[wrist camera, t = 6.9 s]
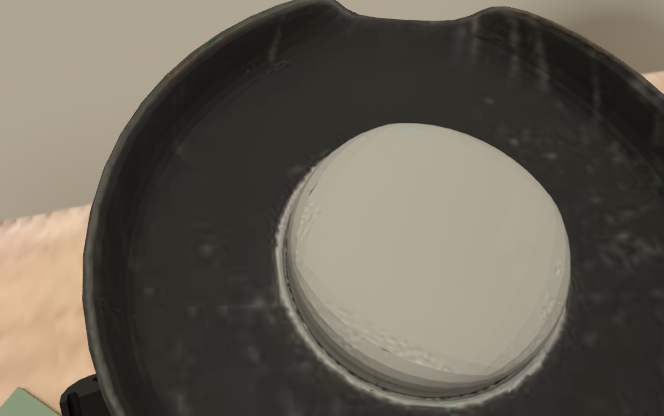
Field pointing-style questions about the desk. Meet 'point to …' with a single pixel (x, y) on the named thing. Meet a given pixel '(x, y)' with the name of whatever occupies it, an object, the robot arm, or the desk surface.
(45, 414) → the sage green mat
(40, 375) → the desk surface
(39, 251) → the desk surface
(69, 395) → the robot arm
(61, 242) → the desk surface
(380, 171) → the travel mug
